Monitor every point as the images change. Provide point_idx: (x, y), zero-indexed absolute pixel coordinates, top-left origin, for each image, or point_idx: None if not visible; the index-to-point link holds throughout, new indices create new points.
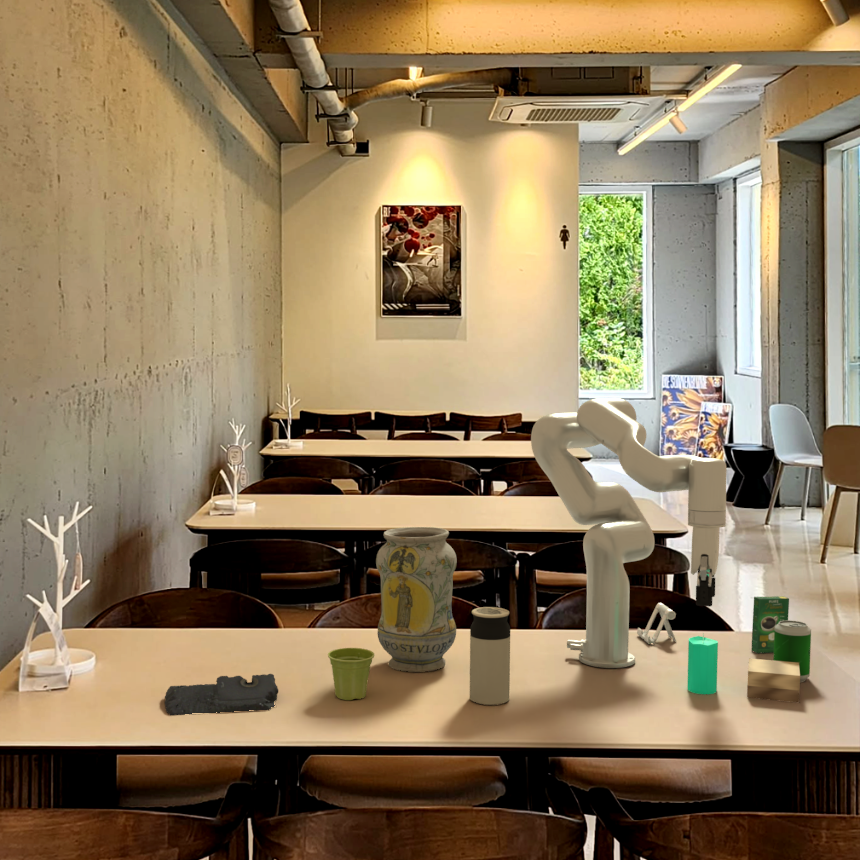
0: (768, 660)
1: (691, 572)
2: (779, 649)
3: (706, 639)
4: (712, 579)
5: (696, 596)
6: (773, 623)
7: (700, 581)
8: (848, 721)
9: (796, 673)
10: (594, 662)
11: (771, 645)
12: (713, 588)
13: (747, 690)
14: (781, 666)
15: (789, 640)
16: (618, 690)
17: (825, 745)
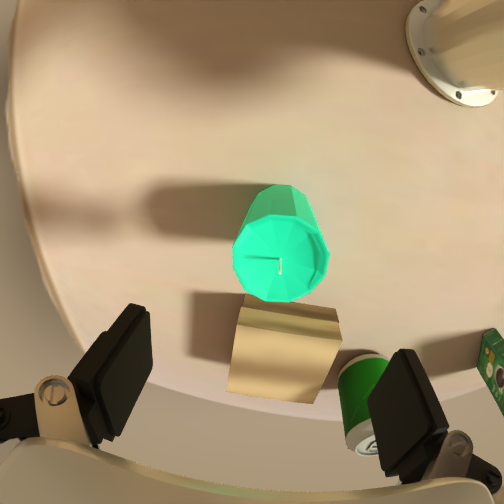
0: (326, 368)
1: (30, 441)
2: (362, 394)
3: (316, 273)
4: (386, 465)
5: (109, 332)
6: (498, 383)
7: (10, 401)
8: (167, 385)
9: (239, 390)
10: (412, 11)
11: (484, 358)
12: (374, 428)
13: (243, 301)
14: (283, 380)
15: (349, 421)
16: (245, 38)
17: (77, 335)
